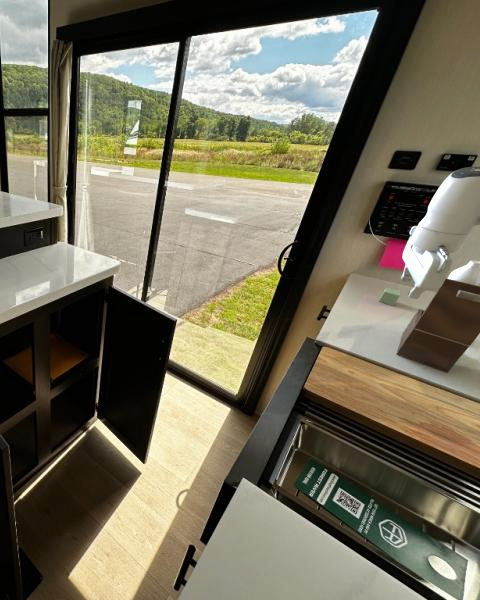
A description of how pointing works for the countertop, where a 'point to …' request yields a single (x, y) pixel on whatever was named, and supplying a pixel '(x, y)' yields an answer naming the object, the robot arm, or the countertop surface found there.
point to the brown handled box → (453, 312)
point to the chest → (429, 347)
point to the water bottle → (467, 273)
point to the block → (390, 296)
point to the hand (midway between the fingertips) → (408, 288)
